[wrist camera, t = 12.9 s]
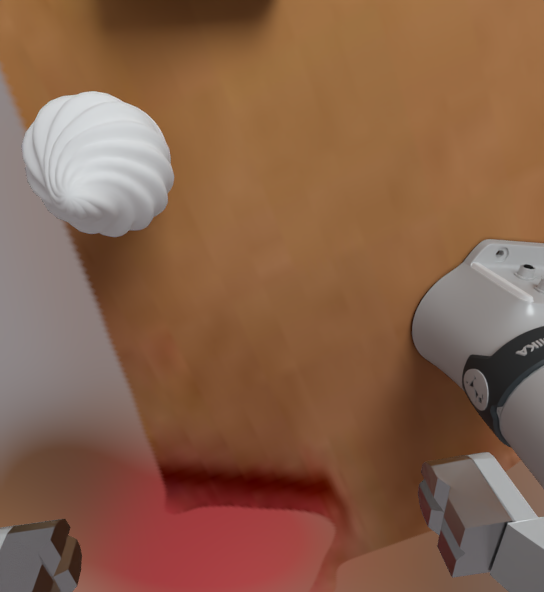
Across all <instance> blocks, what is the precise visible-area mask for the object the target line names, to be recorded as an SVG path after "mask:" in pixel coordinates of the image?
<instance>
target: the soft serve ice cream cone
mask: <svg viewBox="0 0 544 592" xmlns="http://www.w3.org/2000/svg"><path fill="white" fill-rule="evenodd" d="M22 155H23V160H24V162H25V164H26V168H25V170H26V176H27V181H28V183H29V185H30V187H31V189H32V190H33V192H34V193H35V194H36V195H37V196H38V197H40V198H41V200H42V202H43V203H44V205H45V206H46V208H47V209H48V211H49V212H50V213H52V214H53V215H54V216H55V217H56V218H58V219H61V220H64V221H66V222H69V223H70V224H71V225H72V226H73V227H75V228H76V229H77V230H79V231H81V232H84V233H88V234H96V233H100V234H102V235H105V236H110V237H118V236H122V235H124V234H126V233H127V232H128V231H129V230H142V229H144V228H146V227H147V226H148V225H149V224H150V222H151V221H152V219H153V217H154V216H156V215H158V214H160V213H161V212H162V211H163V210H164V209H165V207H166V205H167V203H168V196H167V194H168V192H169V191H170V189H171V188H172V186H173V182H174V174H173V170H172V167H171V165H170V163H171V157H170V151H169V148H168V146H167V144H166V141H165V138H164V136H163V134H162V132H161V130H160V128H159V127H158V126H157V124H156V123H155V122H154V120H153V119H152V118H151V117H150V116H148V115H147V114H146V113H145V112H143V111H142V110H140V109H139V108H137V107H135V106H133V105H130V104H128V103H124V102H123V101H121V100H120V99H118V98H116V97H114V96H111V95H109V94H107V93H101V92H96V91H91V92H84V93H80V94H78V95H69V96H61V97H59V98H56V99H54V100H51V101H49V102H48V103H47V104H46V105H45V106H44V107H43V108H41V109H40V111H39V113H38V115H37V117H36V119H35V121H34V122H33V123H32V125H31V126H30V127H29V129H28V130H27V132H26V133H25V135H24V139H23V142H22Z"/></svg>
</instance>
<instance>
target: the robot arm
mask: <svg viewBox="0 0 544 592" xmlns="http://www.w3.org/2000/svg"><path fill="white" fill-rule="evenodd" d="M499 250H500V251H499ZM498 251H499V253H498V254H497V255H496V253H497V252H498ZM412 337H413V341H414V344H415V347H416V349H417V350H418V352H419V353H420V354H421V355H422V356H423V357H424V358H425V359H426V360H428V361H429V362H431V363H432V364H434V365H435V366H436V367H438V368H439V369H440V370H442V371H443V372H444V373H445V374H446V375H448V376H449V377H450V378H451V379H452V380H453V381H454V382H455V383H456V384H457V385H458V386H459V387H461V388H462V389H463V390H464V391H465V393H466V395H467V396H468V398H469V400H470V401H471V403H472V405H473V406H474V408H475V409H476V411H477V412H478V413H479V415H480V416H481V417H482V419H483V420H484V421H485V422H486V424H487V425H488V426H489V427H490V429H491V430H492V431H493V432H494V434H495V435H496V436H497V437H498V438H499V440H500V441H501V442H503V443H504V444H505V445H507V446H509V447H511V448H512V449H513V450H514V451H515V453H516V454H517V455H518V456H519V458H520V459H521V460H522V461H523V463H524V464H525V465H526V467H527V468H528V469H529V471H530V472H531V473H532V474H533V476H534V477H535V478H536V480H537V481H538V482H539V483H540V485H541V486H542V487H543V488H544V243H532V242H519V241H507V240H494V239H487V240H484V241H482V242H481V243H479V244H478V245H477V246H476V247H475V248H474V249H473V250H472V252H471V253H470V254H469V255H468V257H467V258H466V259H465V261H464V262H463V263H462V264H461V265H459V266H458V267H457V268H455V269H454V270H452V271H451V272H449V273H448V274H447V275H445V276H444V277H442V278H441V279H440V280H439V281H438V282H437V283H436V284H434V285H433V287H432V288H431V289H430V290H429V291H428V292H427V293H426V295H425V296H424V298H423V299H422V301H421V302H420V304H419V306H418V308H417V310H416V313H415V316H414V319H413V325H412ZM421 473H422V475H423V477H424V480H423V481H422V482H421V483H420V484H419V490H418V497H419V503H420V508H421V511H422V514H423V516H424V519H425V521H426V523H427V525H428V527H429V528H430V529H432V530H433V531H434V532H436V533H437V534H438V535H439V540H438V549H439V551H440V553H441V555H442V557H443V559H444V562H445V564H446V566H447V568H448V570H449V572H450V574H451V576H452V577H458V576H465V575H472V574H479V573H486V572H490V575H491V576H492V577H493V578H494V579H495V580H496V581H497V582H499V583H500V584H501V585H502V586H503V587H504V588H505V589H506V590H507V591H509V592H544V517H537V515H536V514H535V513H534V511H533V510H532V508H531V507H530V506H529V504H528V503H527V502H526V500H525V499H524V497H523V496H522V495H521V493H520V492H519V491H518V489H517V488H516V486H515V485H514V484H513V482H512V481H511V480H510V478H509V477H508V476H507V474H506V473H505V471H504V470H503V469H502V467H501V466H500V464H499V463H498V462H497V460H496V459H495V458H494V456H493V455H491V454H490V453H489V452H482V453H477V454H471V455H466V456H465V455H461V456H455V457H449V458H444V459H438V460H432V461H427V462H425V463H424V464H423V465H422V470H421ZM69 530H70V526H69V524H68V523H67V521H66V519H59V520H53V521H45V522H39V523H32V524H24V525H18V526H9V527H3V528H0V592H72V591H73V590H74V589H75V588H76V587H77V584H78V580H79V576H80V572H81V560H82V554H81V549H80V545H79V543H78V541H77V539H75V538H73V537H71V536H69V535H68V534H69Z"/></svg>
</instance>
